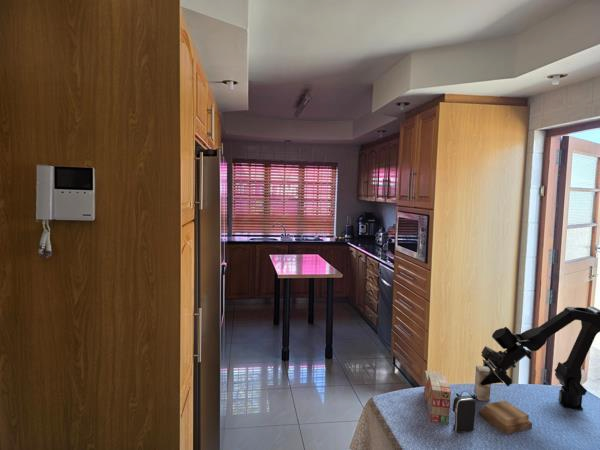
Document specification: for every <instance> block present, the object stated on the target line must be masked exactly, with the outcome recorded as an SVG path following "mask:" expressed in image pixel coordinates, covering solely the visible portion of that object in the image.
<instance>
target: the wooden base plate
mask: <svg viewBox="0 0 600 450" xmlns="http://www.w3.org/2000/svg"><path fill="white" fill-rule="evenodd" d="M478 416H479V417H481V418H482V419H484V420H485V421H486V422H488V423H489V424H490V425H492V426H493V427H495V428H496V429H497V430H499V431H500V432H502V433H503V434H505V435H509V434H513V433H517V432H521V431H525V430H528V429H531V428H533V422H532V421H530V420H528V422H526V423H522V424H517V425H513V426H508V427H505V426H504V425H503V424H501V423H500V422H498V421H497V420H496V419H494V418H493V417H491V416H490V415H489V414H487V413H486V412H484V408H483V409H481V410H480V409H479V410H478Z"/></svg>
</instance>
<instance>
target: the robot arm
mask: <svg viewBox="0 0 600 450" xmlns="http://www.w3.org/2000/svg"><path fill="white" fill-rule="evenodd" d="M574 321H580V324H581V328H580V330H579V333H578V335H577V337H576V339H575V342H574V344H573V346H572V348H571V350H570V353H569V354H568V357H567V359H566V360H565V361H564V362H559V361H558V363H557V365H556V368H555V369H554V372H555V373H554V376H555V378H556V380H558V382H559V384H560V385H561V388H560V389H559V392H558V401H559V402H560V404H561V405H562V406H563V408H568V409H574V410H581V411H583V410H584V407H583V405H582V403H583V396H586V394H587V392H588V390H587V389H586V388H585V387H584V386H583V385H582V383H581V382H582V377H583V375H582V366H583V364H584V362H585V360H586V357H587V355H588V354H589V351H590V349H591V347H592V345H593V343H594V341H595V338H596V337H597V335H598V334H599V333H600V309H599V308H596V307H594V306H588V307H582V306H581V307H580V306H576V307H575V306H567V307H565V308H564V309H563V310H562V311H560V312H559V313H558V314H556V315H555V316H552V317H551V318H550V319H548V320H547V321H546V322H544V323H543V324H541V325H540V326H537V327H534V328H533V327H532V328H529V329H527V330H525V331H523V332H521V333H512V331H511V330H510V329H509V328H508V327H507V326H505V327H502V328H498V329H495V331H494V332H492V336H491V337H492V339H493V340H494V341H495V342H496V343H497V344H498V345H499V346H500V347H501V348H502V349H503V351H502V350H498V351H496V350H494V349H492V348H490V347H488V346H485V345H484V347H483V349H482V351H481V357H482V358H483V359H482V361H483V365H482V366H487V367H489V369H490V373H489V375H488V376H487V377H486V378H485V379H484V380H483V381H482V382H481V383H480V384H481V385H488V384H491V385H492V384H500V383H501V384H505V386H507V387H510V386H511V385H513V379H512V378H511V377H510V376H509V375H508V372H507V371H508V370H510V369H511V368H516V366H517V365H516V364H517V363H518V362H520V361H521V360H522V359H524V358H525V357H526V358H527V359H529V360H532V352H537V351H539V350H540V349H541V348H542V347H543V346H545V344H546V343H547V341H548V339H550V337H552V336H553V335H555V334H556V333H558V332H559V331H560V330H562V329H563V328H565V327H566V326H567V327H568V325H569V324H571V323H572V322H574Z"/></svg>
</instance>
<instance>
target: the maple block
mask: <svg viewBox="0 0 600 450" xmlns="http://www.w3.org/2000/svg"><path fill="white" fill-rule="evenodd" d="M483 405H484V406H483V409H484V412H486V413H487V414H489V415H490V416H491V417H493V418H494V419H496V420H497V421H498V422H500V423H501V424H503V425H504V426H505V427H508V426H513V425H517V424H522V423H526V422H528V420H529V418H530V415H529V414H528V413H526V412H524V411H523V410H521V409H519V408H518V407H517V406H515V405H513V404H511V403H510V402H509V401H507V400H502V401H501V400H500V401H496V402H489V403H485V404H483ZM529 421H530V420H529Z"/></svg>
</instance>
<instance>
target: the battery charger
mask: <svg viewBox="0 0 600 450" xmlns="http://www.w3.org/2000/svg"><path fill="white" fill-rule="evenodd" d="M476 403H477V402H476V401H475V399H474V398H472V397H471V396H469V395H462V396H456V397H455V398H454V399H453V403H452V405H453V406H452V411H453V412H454V425H453V430H454V431H455V432H457V433H465V432H472V431H474V430H475V419H476V410H477V409H476V408H477V407H476V405H477V404H476Z"/></svg>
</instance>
